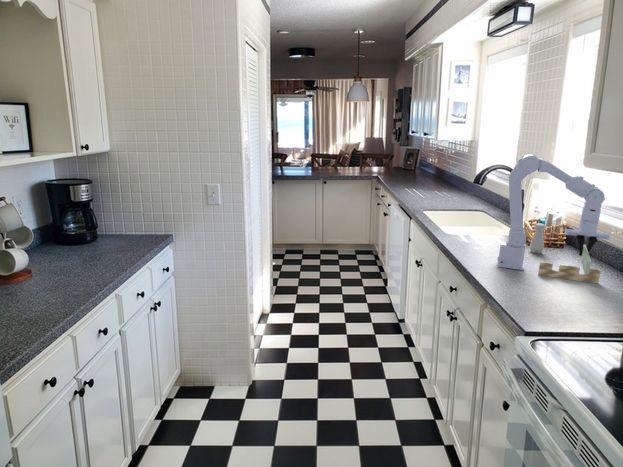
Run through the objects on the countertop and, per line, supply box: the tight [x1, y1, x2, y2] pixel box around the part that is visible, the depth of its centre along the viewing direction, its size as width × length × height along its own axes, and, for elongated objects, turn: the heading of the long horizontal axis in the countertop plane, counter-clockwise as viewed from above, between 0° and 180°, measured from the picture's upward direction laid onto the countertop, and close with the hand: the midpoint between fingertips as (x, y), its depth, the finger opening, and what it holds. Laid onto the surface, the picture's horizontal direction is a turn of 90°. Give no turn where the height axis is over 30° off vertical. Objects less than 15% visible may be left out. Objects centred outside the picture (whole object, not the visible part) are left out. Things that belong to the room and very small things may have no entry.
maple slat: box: [537, 261, 602, 284], centre depth 176 cm, size 20×1×5 cm, turn 68°
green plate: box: [579, 244, 592, 275], centre depth 173 cm, size 16×1×5 cm, turn 158°
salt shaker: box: [528, 222, 546, 255], centre depth 209 cm, size 6×6×13 cm
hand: (582, 255), depth 178 cm, fingers closed on green plate
